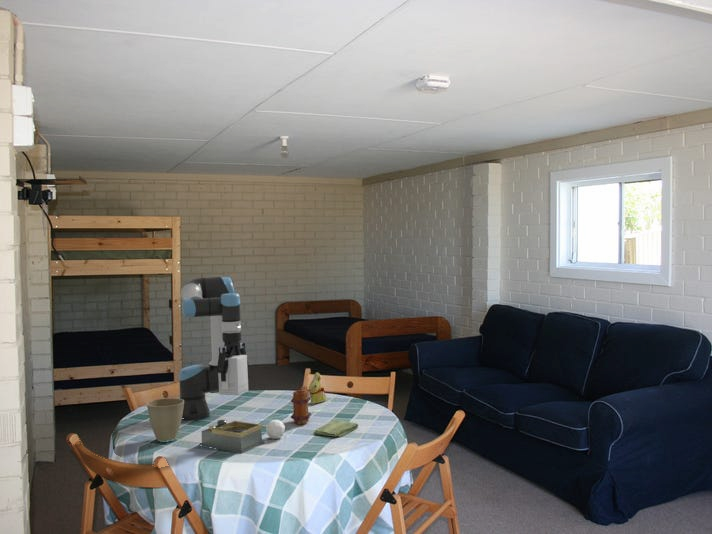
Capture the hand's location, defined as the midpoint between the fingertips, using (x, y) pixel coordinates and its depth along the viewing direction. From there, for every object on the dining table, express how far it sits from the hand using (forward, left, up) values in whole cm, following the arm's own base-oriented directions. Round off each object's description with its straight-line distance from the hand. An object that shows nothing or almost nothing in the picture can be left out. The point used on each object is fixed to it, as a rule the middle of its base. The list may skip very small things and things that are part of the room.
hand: (233, 386), depth 276 cm
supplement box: (0, 0, -3) cm, 3 cm away
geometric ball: (+12, +11, -23) cm, 28 cm away
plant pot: (-28, -10, -23) cm, 38 cm away
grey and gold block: (+1, -3, -23) cm, 23 cm away
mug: (+8, +37, -23) cm, 45 cm away
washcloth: (+30, +31, -23) cm, 49 cm away
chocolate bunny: (-4, +69, -23) cm, 73 cm away
